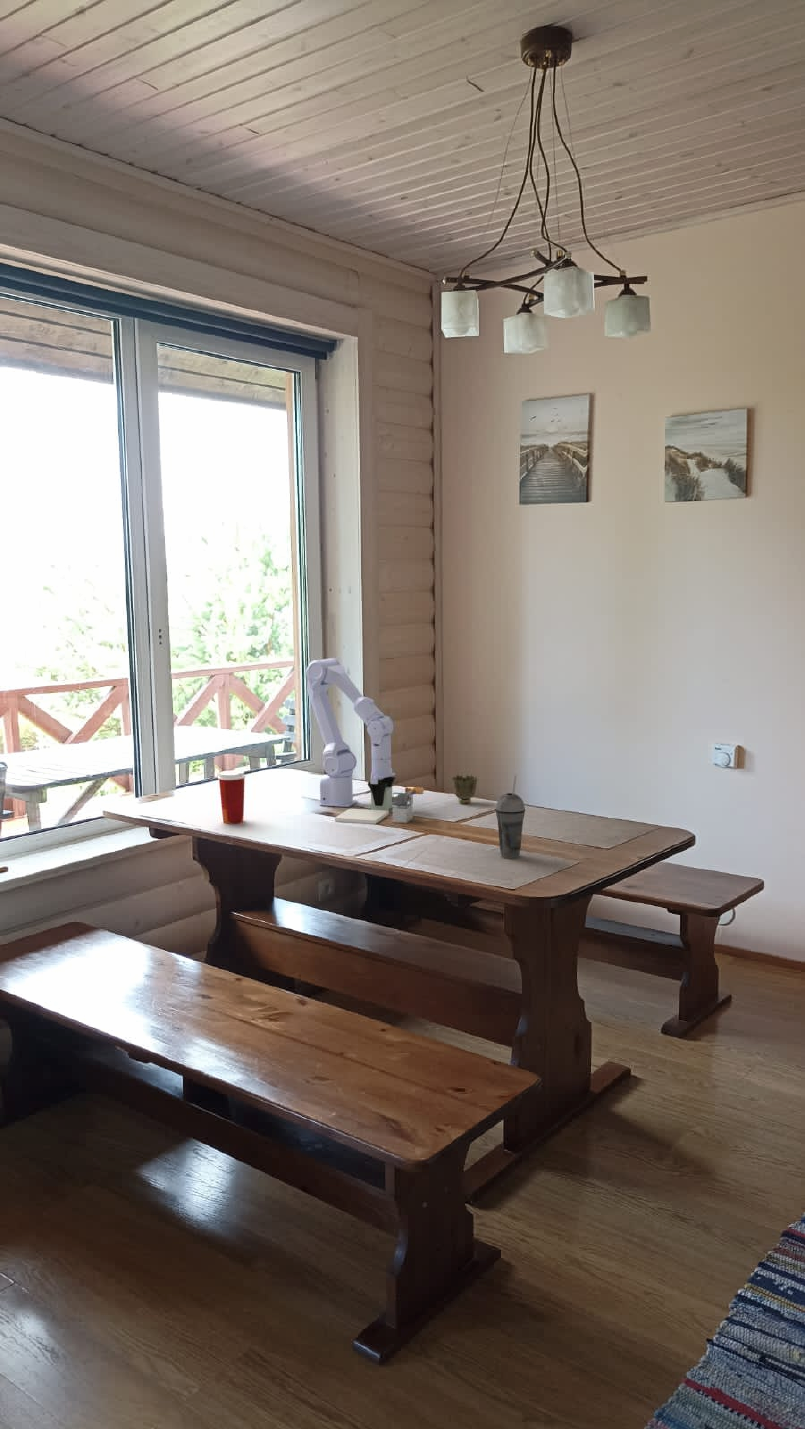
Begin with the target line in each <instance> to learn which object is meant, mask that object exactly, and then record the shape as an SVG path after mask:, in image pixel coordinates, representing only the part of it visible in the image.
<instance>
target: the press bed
mask: <svg viewBox="0 0 805 1429" xmlns="http://www.w3.org/2000/svg"><path fill="white" fill-rule="evenodd" d="M389 814H390V811H389V810H388V811H385V810H371V809H367V808H366V809H364V808H349V807H348V809H346V810H345V811H343V812H342V813H341V814H339V815H337V816H336V817H334V822H339V823H340V822H341V823H354V824H355V823H356V824H368V825H369V824H370V825H372V824H373V825H376V824H377V823H379V822H381V821H382V820H383V819H384V818H386V817H387V816H388V815H389Z"/></svg>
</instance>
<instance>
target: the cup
mask: <svg viewBox="0 0 805 1429" xmlns="http://www.w3.org/2000/svg"><path fill="white" fill-rule="evenodd" d="M477 782H478V777H476V776H473V775H472V774H471V775H468V774H467V775H466V776H465V777H463V775H456V776H455V775H454V776H453V777H452V785H453V786H452V787H453V792H454V795H455V797H457V799H458V803H459V804H460V805H469V804H470V803H471V802H472V800H471V799H472V798H473V797H474V796H475V794H476V791H477Z"/></svg>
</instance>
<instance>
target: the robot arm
mask: <svg viewBox="0 0 805 1429" xmlns="http://www.w3.org/2000/svg"><path fill="white" fill-rule="evenodd" d="M305 676H306V677H307V683H306V684H307V686H306V687H307V688H306V691H307V694H308V698H309V701H310V704H311V707H312V710H313V712H314V713H313V714H314V716H315V719H316V722H317V725H318V728H319V731H320V734H321V738H322V741H323V744H324V746H325V747H324V748H323V751H322V758H323V764H322V765H323V769H324V772H325V773H326V774H323V775H322V776H321V778H320V782H319V794H320V795H319V798H320V800H319V801H320V803H319V806H326V807H327V806H328V807H340V808H342V807H343V808H349V807H352V806H353V805H354V804H356V803H357V802H358V800H357V799H353V798H354V797H353V796H354V795H353V794H354V792H353V790H354V788H353V774H354V770H355V768H356V766H357V761H358V760H357V757H356V755H355V753H353V751H352V750H351V747H350V745H348V743H347V742H345V741H344V740H343V737H342V734H341V732H340V731H341V730H340V728H339V725H338V723H337V720H336V716H335V714H334V711H333V706H332V704H331V702H330V701H331V700H330V698H329V696H328V691H329V688H330V686H331V685H335V686H336V687H337V688H338V689H340V690H341V692H343V694H344V695H345V696H346V697H347V699H349V700H350V701H351V703H352V704H353V711H354V712H355V713H356V714H357V716H358V717H359V718H360V719H361V720H362V722H363V723H364V725H366V726H367V727H366V731H367V734H368V736H369V737H370V742H371V745H370V746H371V752H370V754H371V773H370V781H368V782H367V786H368V788H369V790H370V793H371V792H372V795H373V799H374V803H375V806H382V805H383V801H384V793H385V789H386V787H392V788H393V785H394V782H395V780H396V777H395V776H396V773H395V772H393V768H392V739H391V738H392V736H391V735H392V734H393V732H394V730H395V723H394V721H393V718H391V717H390V716H388V715H384V714H385V713H384V712H382V711H380V709H379V708H378V706H377V705H376V704H375V701H374V699H373V698H370V697H368V696H363V695H362V694H361V692H360V691H359V689H358V688H357V686H356V685H355V684H354V682H353V681H352V679H351V678H350V677H349V676H348V674H347V673H346V669H345V667H344V666H343V665H342V664H341V663H340V661H339V659H338V658H334V657H329V658H323V659H314V660H311V661H310V662H309V664H308V665H307V668H306V669H305Z"/></svg>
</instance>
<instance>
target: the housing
mask: <svg viewBox="0 0 805 1429" xmlns="http://www.w3.org/2000/svg"><path fill="white" fill-rule="evenodd" d="M392 795H393V786H392V787H386V789H385V793H384V801H383V805H382V806H375V803H374V799H373V795H372V792H371V791H370V810H385V811H389V810H391V809H393V808H394V806H393V805H392Z"/></svg>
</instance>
